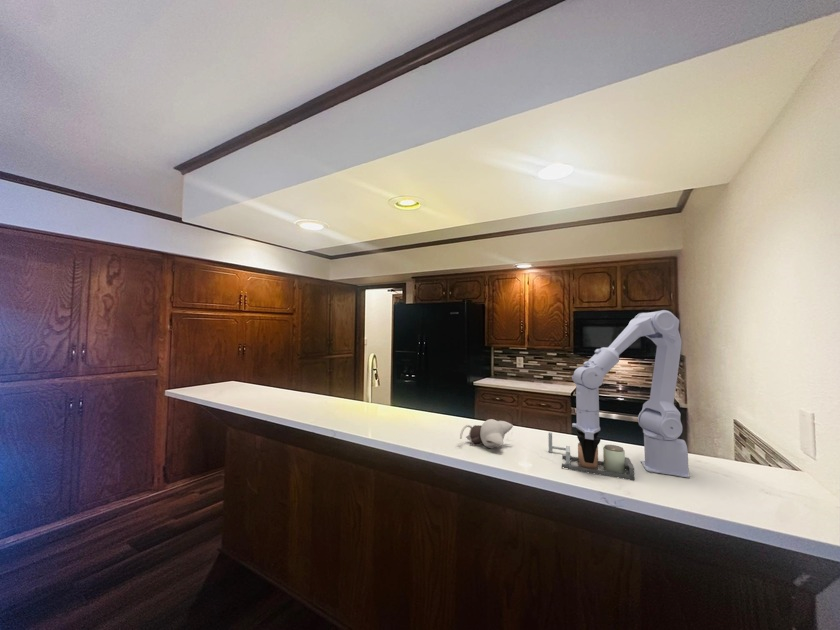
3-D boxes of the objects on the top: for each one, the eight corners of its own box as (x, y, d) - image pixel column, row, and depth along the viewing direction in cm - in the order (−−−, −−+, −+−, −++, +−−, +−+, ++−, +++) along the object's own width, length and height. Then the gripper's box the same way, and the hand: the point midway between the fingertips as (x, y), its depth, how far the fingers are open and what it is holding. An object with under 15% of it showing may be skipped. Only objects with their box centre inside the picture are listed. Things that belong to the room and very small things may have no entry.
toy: (463, 459, 107) (504, 459, 98) (453, 435, 107) (494, 433, 98) (478, 435, 118) (517, 434, 109) (469, 413, 117) (507, 410, 108)
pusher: (570, 453, 101) (569, 434, 102) (570, 467, 90) (569, 445, 91) (548, 450, 104) (548, 431, 104) (546, 463, 93) (546, 442, 93)
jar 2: (623, 470, 90) (623, 446, 90) (626, 477, 85) (625, 451, 86) (602, 466, 92) (602, 443, 92) (604, 473, 87) (604, 448, 88)
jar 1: (598, 466, 92) (597, 442, 92) (598, 472, 88) (598, 447, 88) (578, 462, 94) (578, 439, 95) (577, 468, 90) (577, 444, 90)
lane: (629, 468, 91) (628, 457, 91) (634, 480, 83) (634, 468, 83) (562, 458, 98) (562, 448, 98) (561, 468, 90) (561, 457, 90)
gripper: (571, 403, 100) (572, 449, 99) (572, 413, 87) (572, 465, 86) (597, 406, 97) (598, 453, 96) (602, 416, 84) (603, 470, 83)
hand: (588, 459), depth 91 cm, fingers closed on jar 1, 5 cm apart
